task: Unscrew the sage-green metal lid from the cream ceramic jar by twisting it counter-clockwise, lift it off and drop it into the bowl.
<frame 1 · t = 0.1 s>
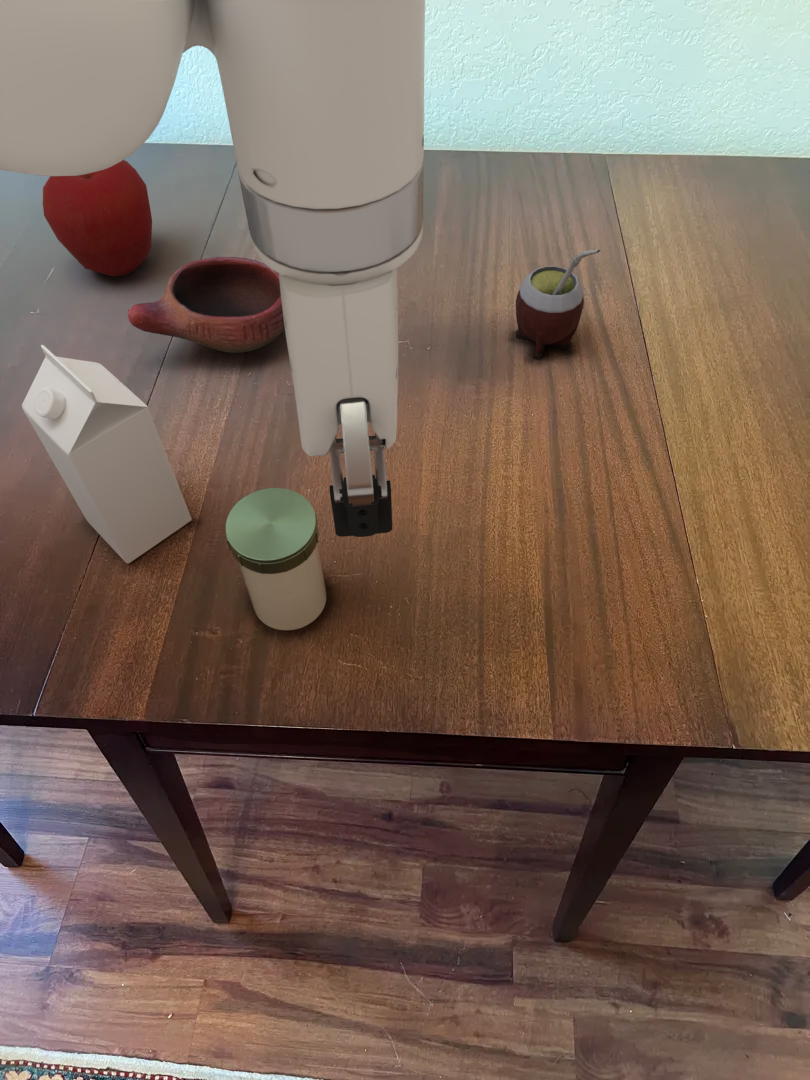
hand: (358, 465, 47), 23 cm above the table, tool pointing down, fingers open, 9 cm apart
bowl: (231, 344, 87), on the table
jar lid: (271, 525, 59), point 11 cm above the table, screwed on, not yet turned
milk carton: (140, 522, 73), on the table
mate gourd: (546, 344, 87), on the table
apple: (120, 266, 96), on the table
jar: (289, 598, 68), on the table
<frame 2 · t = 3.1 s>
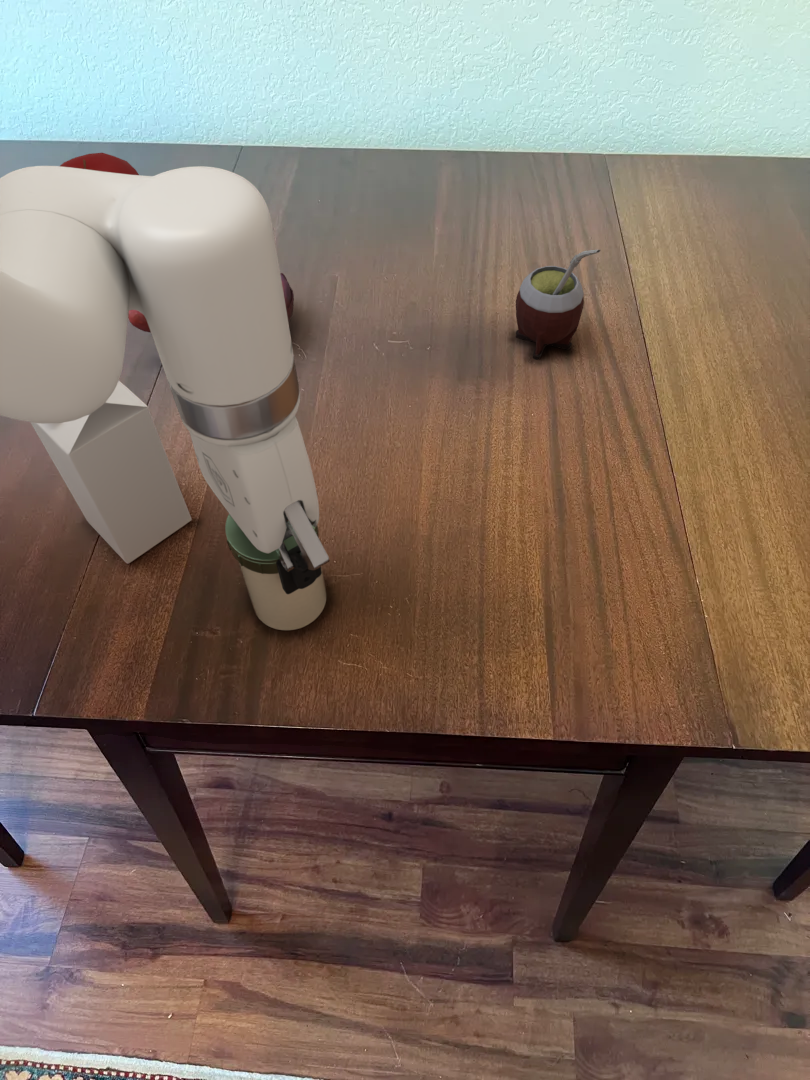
hand: (277, 549, 62), 8 cm above the table, tool pointing down, fingers closed on jar lid, 6 cm apart
jar lid: (271, 525, 59), point 11 cm above the table, screwed on, not yet turned, touching gripper
everything else where it was.
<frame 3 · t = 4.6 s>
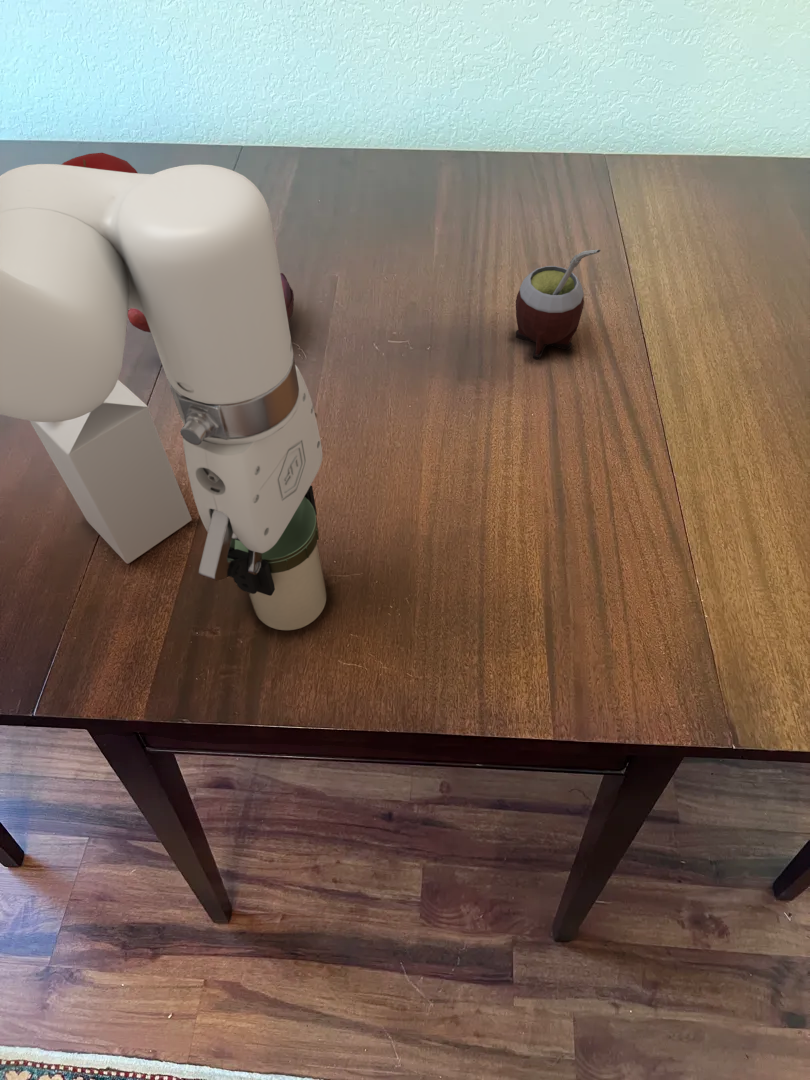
hand: (277, 548, 62), 8 cm above the table, tool pointing down, fingers closed on jar lid, 6 cm apart
jar lid: (271, 525, 59), point 11 cm above the table, turned 123° so far, risen 0.1 cm, still on its thread, touching gripper
everything else where it was.
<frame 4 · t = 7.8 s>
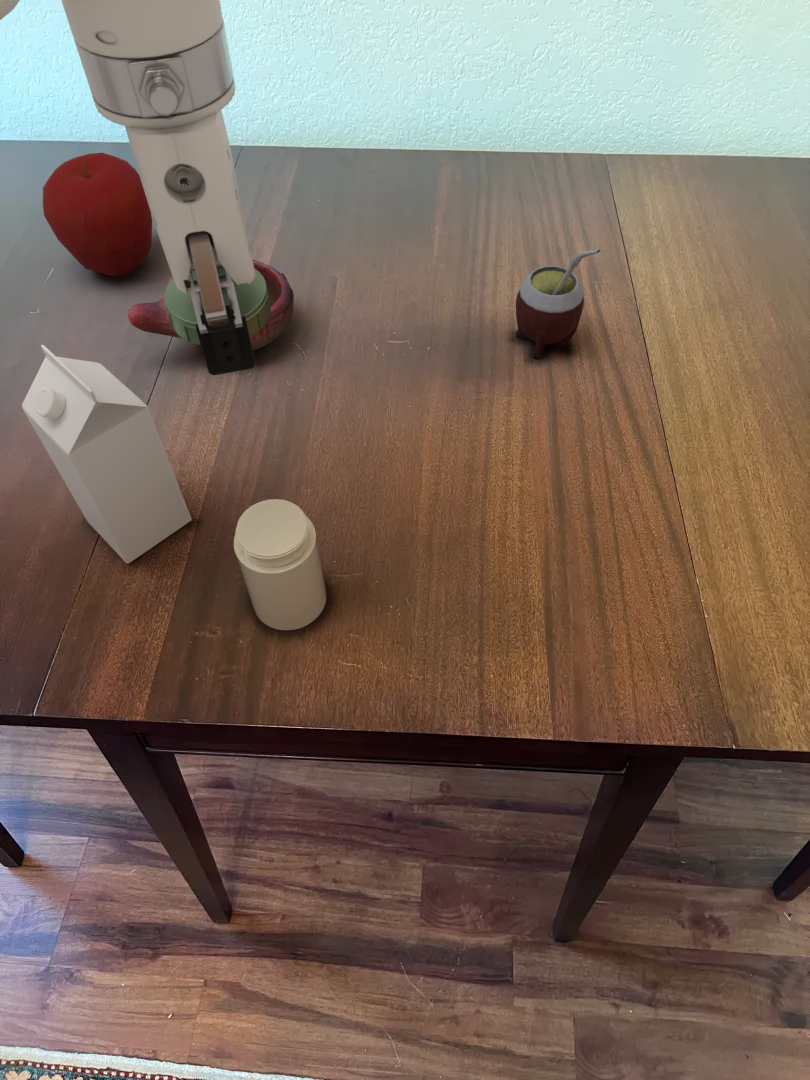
hand: (225, 332, 55), 22 cm above the table, tool pointing down, fingers closed on jar lid, 6 cm apart
jar lid: (216, 295, 53), point 25 cm above the table, off its thread, touching gripper
everything else where it was.
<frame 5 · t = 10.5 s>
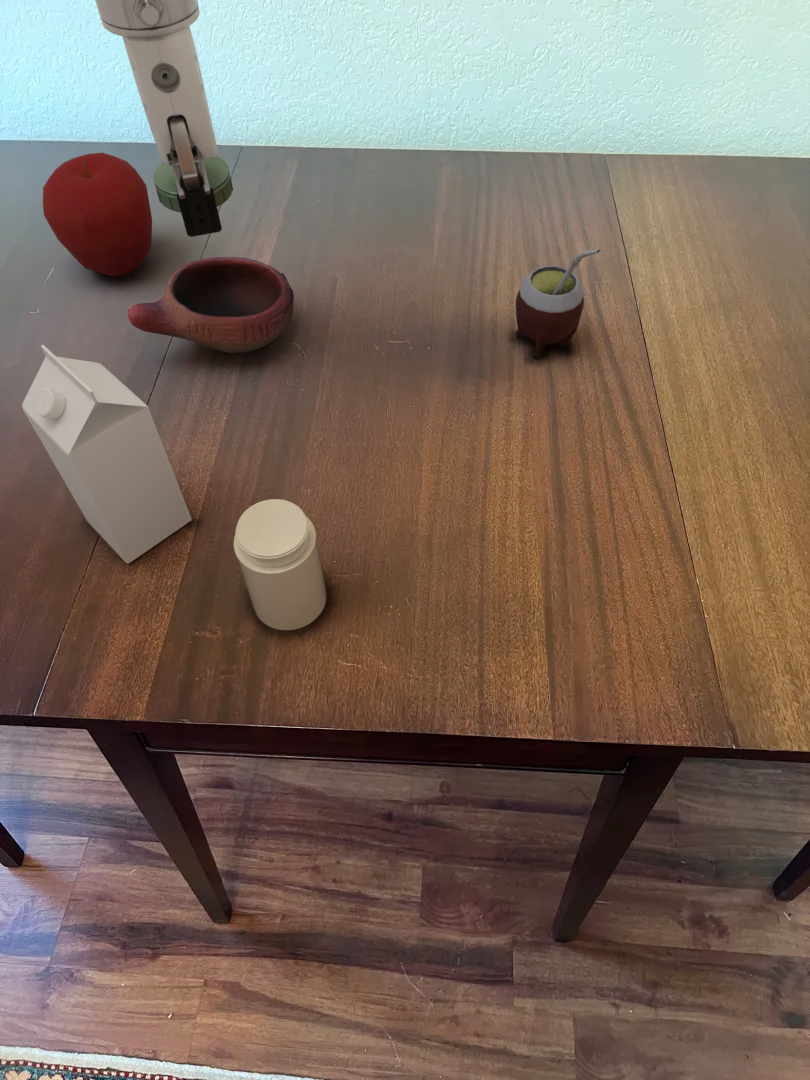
hand: (199, 208, 74), 16 cm above the table, tool pointing down, fingers closed on jar lid, 6 cm apart
jar lid: (192, 176, 71), point 19 cm above the table, off its thread, touching gripper
everything else where it was.
when the fingers open (11 cm above the table, at t = 12.6 s): jar lid drops 5 cm, resting on bowl.
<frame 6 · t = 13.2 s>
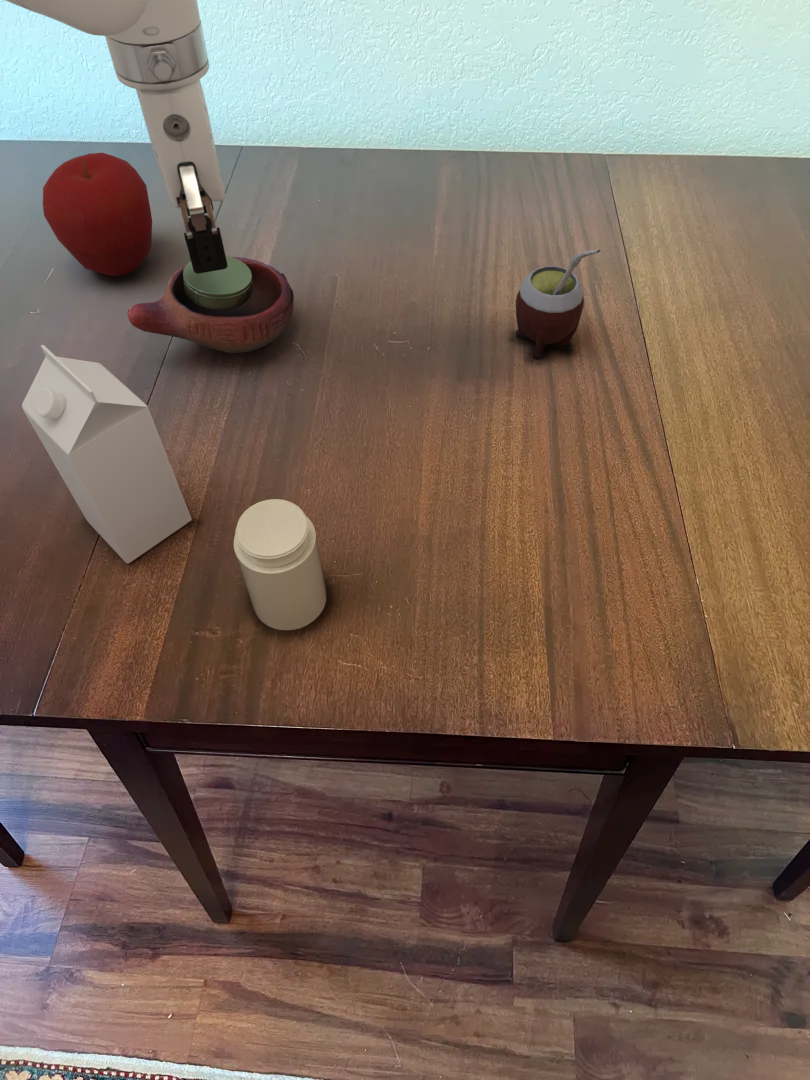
hand: (204, 240, 77), 13 cm above the table, tool pointing down, fingers open, 9 cm apart
bowl: (231, 345, 87), on the table, touching jar lid
jar lid: (217, 277, 80), point 9 cm above the table, tilted 9°, off its thread, touching bowl
everything else where it was.
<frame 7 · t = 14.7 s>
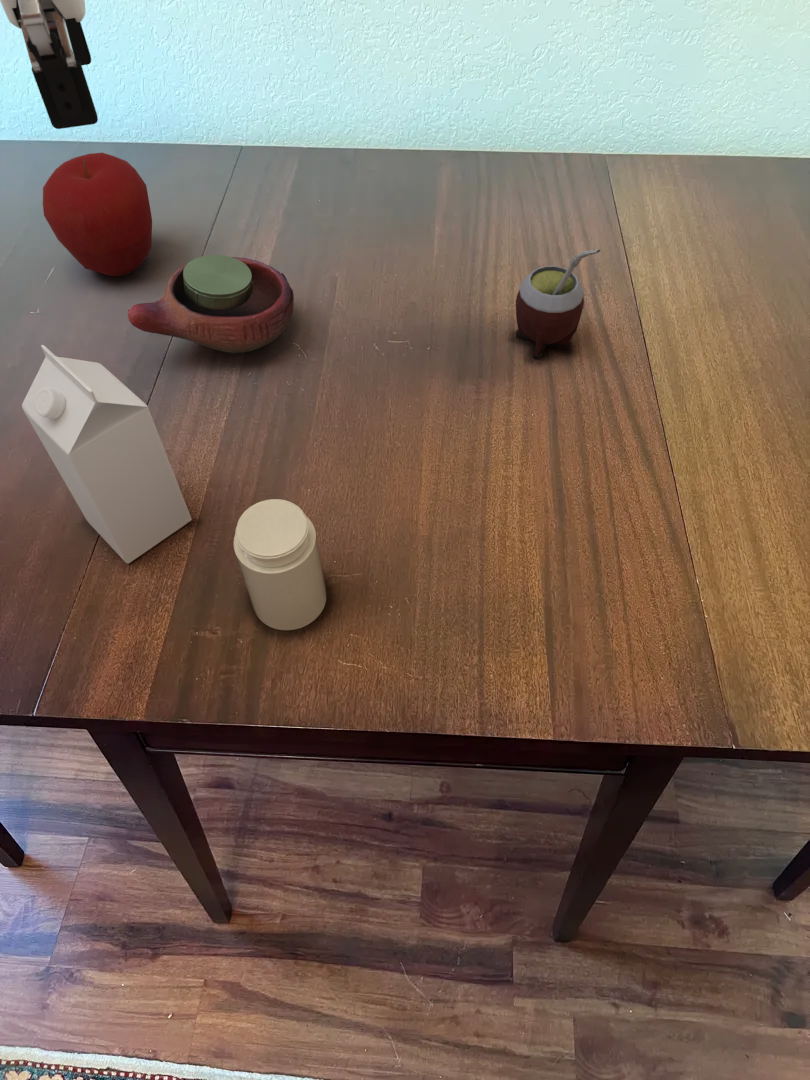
hand: (73, 93, 59), 30 cm above the table, tool pointing down, fingers open, 9 cm apart
nothing on the table moved.
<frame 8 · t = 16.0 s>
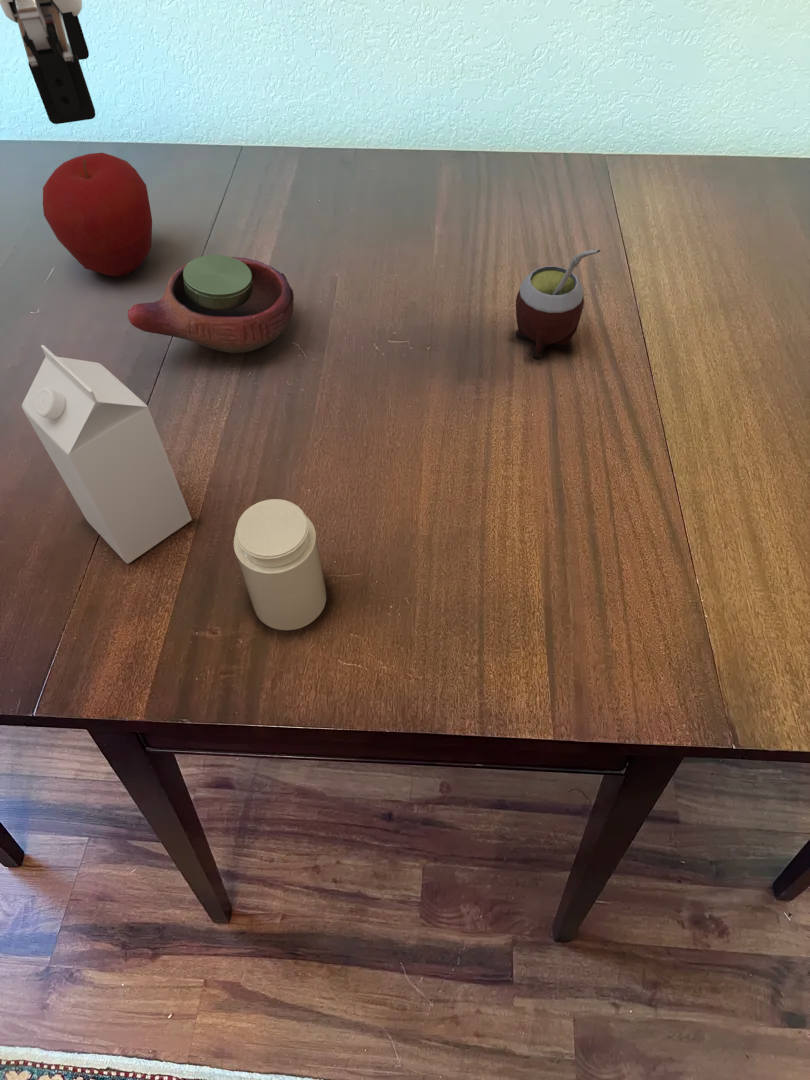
hand: (71, 88, 59), 30 cm above the table, tool pointing down, fingers open, 9 cm apart
nothing on the table moved.
at the end: jar lid 0.3 cm from the bowl (horizontally); the gripper is holding nothing; jar moved 0.0 cm from its start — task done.
